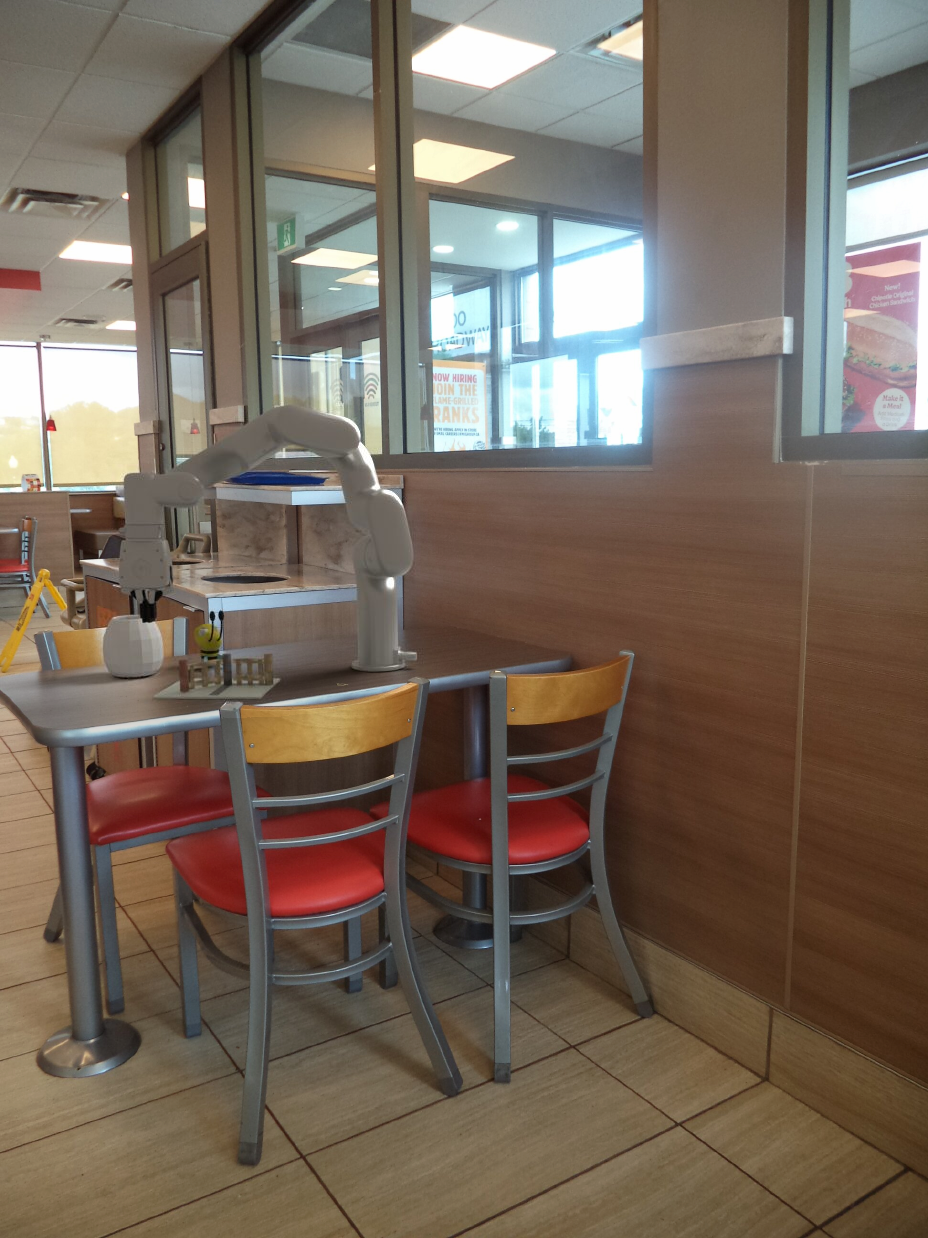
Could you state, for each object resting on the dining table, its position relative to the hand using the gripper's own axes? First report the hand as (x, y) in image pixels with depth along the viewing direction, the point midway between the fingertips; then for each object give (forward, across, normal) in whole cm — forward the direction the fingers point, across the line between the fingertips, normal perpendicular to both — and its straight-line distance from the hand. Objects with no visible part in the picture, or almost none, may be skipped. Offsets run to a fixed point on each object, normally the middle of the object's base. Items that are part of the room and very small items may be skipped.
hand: (148, 621), depth 201 cm
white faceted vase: (+15, -11, +19) cm, 27 cm away
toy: (+15, +4, +29) cm, 33 cm away
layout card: (+15, +13, +4) cm, 20 cm away
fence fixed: (+15, +19, +7) cm, 25 cm away
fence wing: (+14, +10, +2) cm, 18 cm away
